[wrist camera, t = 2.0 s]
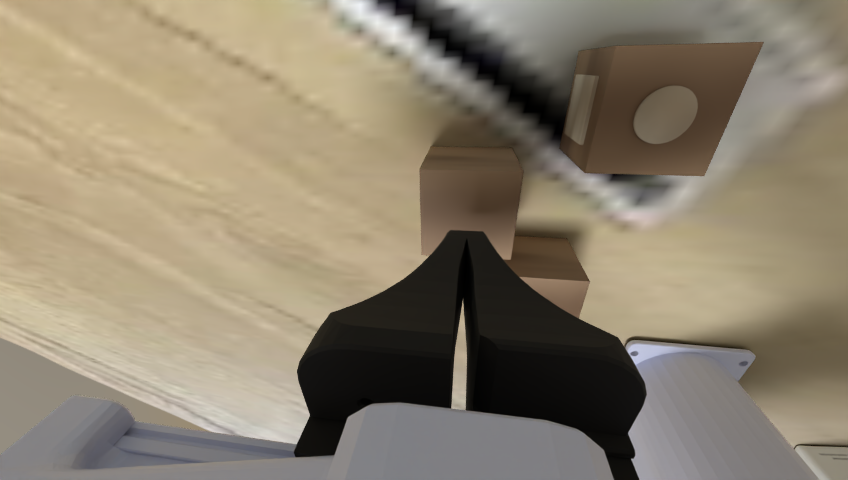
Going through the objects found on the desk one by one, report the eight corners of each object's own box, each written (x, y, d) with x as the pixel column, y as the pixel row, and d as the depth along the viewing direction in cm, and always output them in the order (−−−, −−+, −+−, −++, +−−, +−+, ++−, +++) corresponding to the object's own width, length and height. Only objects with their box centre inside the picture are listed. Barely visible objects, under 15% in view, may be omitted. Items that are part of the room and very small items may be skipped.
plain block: (503, 220, 19) (510, 259, 15) (431, 217, 20) (421, 254, 16) (511, 147, 17) (523, 171, 13) (431, 146, 18) (419, 169, 14)
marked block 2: (552, 294, 21) (571, 346, 17) (485, 289, 22) (487, 339, 18) (566, 237, 19) (590, 283, 15) (490, 234, 20) (495, 276, 16)
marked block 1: (648, 149, 16) (706, 177, 12) (556, 148, 17) (582, 174, 13) (683, 48, 14) (767, 41, 10) (574, 51, 14) (613, 45, 10)
